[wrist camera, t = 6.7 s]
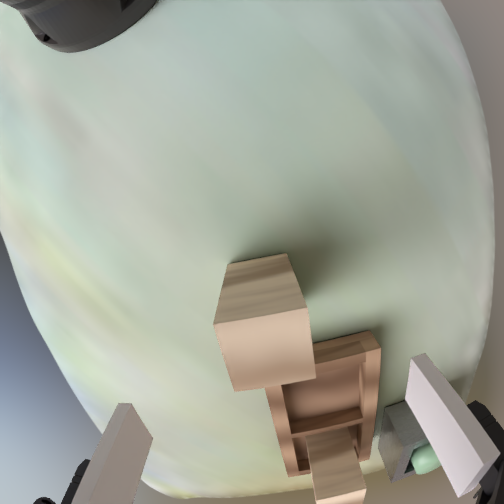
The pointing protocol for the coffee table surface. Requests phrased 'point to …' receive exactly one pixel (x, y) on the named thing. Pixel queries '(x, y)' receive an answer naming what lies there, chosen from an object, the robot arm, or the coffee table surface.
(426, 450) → the button
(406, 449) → the grey square bin
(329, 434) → the seated billet
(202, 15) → the coffee table surface
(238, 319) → the billet
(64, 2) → the robot arm
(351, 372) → the wooden divided tray
